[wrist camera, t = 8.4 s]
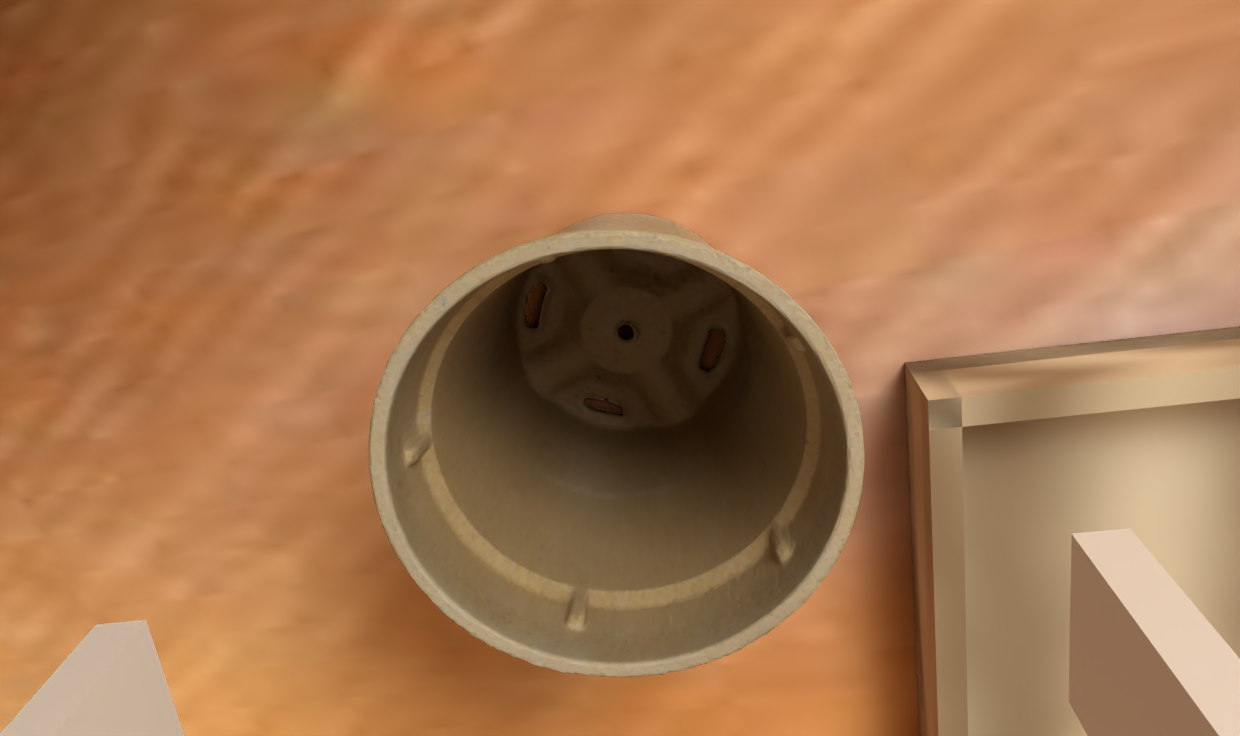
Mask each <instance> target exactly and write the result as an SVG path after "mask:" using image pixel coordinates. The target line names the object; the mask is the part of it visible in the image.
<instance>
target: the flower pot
mask: <svg viewBox="0 0 1240 736" xmlns="http://www.w3.org/2000/svg"><path fill="white" fill-rule="evenodd" d="M539 283H541V284H544V285H545V286H546V288H547V290H546V293H545V297H544V300H543V304H542V309H541V313H540V318H539V325H538V327H537V328H530V327H528V326H527V324H526V317H525V306H526V303H527V296H528V294H529V292H530V290H531V289H532V288H533V287H534V286H535V285H536V284H539ZM625 324H628V325H630V326H631V327H632V330H633V332H634V336H633V337H632V338H631V339H629V340H623V339H622V338H621V337H620V336H619V334H618V329H619V327H620V326H622V325H625ZM710 329H720V330H722V331H724V333H725V337H726V341H725V345H724V347H723V349H722V351H721V353H720V355H719V356H718V357H717V361H716V365H715V366H714V367H713V368H712V369H711V370H710V371H705V370H704V369H701V368H700V366H699V361H700V358H701V356H702V352H703V349H704V347H705V345H706V342H707V337H708V336H709V334H708V331H709V330H710ZM588 397H590V398H592V399H597V400H604V399H605V398H609V399H608V400H607V401H609V402H611V403H612V404H616V405H618V406H621V407H622V409H623V414H622V415H619V414H611V413H605V412H601V411H597V410H594V409H592V408H590V407H589V406H588V405H587V404H586V403H585V399H586V398H588ZM372 411H373V413H372V418H371V423H370V434H369V469H370V476H371V484H372V488H373V495H374V500H375V504H376V507H377V510H378V513H379V517H380V520H381V521H382V525H383V528H384V530H385V532H386V534H387V536H388V539H389V541H390V542H391V545H392V548H393V550H394V551H395V553H396V555H397V557H398V558H399V559H400V561H401V562H402V564H403V566H404V567H405V569H406V570H407V572H408V573H409V575H410V576H411V577H412V578H413V580H414V581H415V583H416V584H417V585H418V586H419V588H420V589H421V590H422V591H423V592H424V593H425V594H426V595H427V596H428V597H429V598H430V599H431V601H432V602H433V603H434V604H435V605H436V606H437V607H438V608H439V609H440V610H441V611H442V612H443V613H444V615H446V616H447V617H449V618H451V619H452V620H453V621H454V622H455V623H457V624H458V625H459V626H461V627H462V628H463V629H464V630H466V631H467V632H469V633H470V634H471V635H473V636H474V637H475V638H478V639H480V640H482V641H483V642H485V643H486V644H488V645H489V646H491V647H494V648H495V649H497V650H499V651H502V652H505V653H507V654H509V655H511V656H512V657H516V658H519V659H522V660H524V661H527V662H528V663H530V664H532V665H535V666H541V667H546V668H549V669H551V670H556V671H559V672H562V673H567V672H568V673H570V674H574V673H579V674H582V675H584V676H588V675H593V676H601V677H641V676H650V675H663V674H665V673H667V672H677V671H681V670H685V669H689V668H692V667H695V666H698V665H703V664H706V663H708V662H710V661H712V660H716V659H719V658H721V657H723V656H727V655H729V654H731V653H733V652H735V651H738V650H740V649H742V648H744V647H745V646H747V645H748V644H750V643H752V642H754V641H755V640H757V639H758V638H760V637H761V636H763V635H765V634H767V633H768V632H770V631H771V630H772V629H773V628H775V627H776V626H778V625H779V624H780V623H781V622H783V621H784V620H785V619H786V618H788V617H789V616H790V615H791V614H792V613H793V612H794V611H795V610H797V609H798V608H799V607H800V606H801V605H802V604H803V603H805V601H806V600H807V599H808V598H809V597H810V596H811V595H812V593H813V592H814V591H815V590H816V589H817V588H818V587H819V585H820V583H821V581H822V580H823V579H824V578H825V577H826V576H827V574H828V572H829V570H830V569H831V568H832V566H833V565H834V564H835V562H836V561H837V559H838V557H839V555H840V553H841V551H842V549H843V546H844V545H845V543H846V540H847V538H848V536H849V534H850V531H851V528H852V526H853V523H854V520H855V516H856V512H857V508H858V506H859V500H860V496H861V492H862V485H863V475H864V462H865V458H864V444H863V431H862V424H861V417H860V411H859V407H858V404H857V400H856V397H855V394H854V392H853V390H852V385H851V382H850V379H849V377H848V375H847V373H846V371H845V369H844V367H843V365H842V363H841V361H840V359H839V358H838V355H837V353H836V352H835V350H834V349H833V347H832V345H831V344H830V342H829V341H828V339H827V338H826V336H825V335H824V333H823V332H822V331H821V329H820V328H819V327H818V325H817V324H816V323H815V322H814V321H813V320H812V318H811V317H810V316H809V315H808V314H807V313H806V312H805V311H804V310H803V309H802V308H801V307H800V306H799V305H798V304H797V303H796V302H795V301H794V300H793V299H792V298H791V297H790V296H789V295H788V294H787V293H786V292H785V291H783V290H782V289H781V288H780V287H778V286H777V285H776V284H774V283H773V282H772V281H771V280H770V279H768V278H767V277H765V276H764V275H762V274H760V273H759V272H757V271H756V270H755V269H753V268H751V267H750V266H748V265H747V264H745V263H743V262H740V261H738V260H736V259H735V258H733V257H731V256H729V255H727V254H725V253H723V252H721V251H718V250H716V249H713V248H712V247H711V246H710V245H709V244H708V243H706V242H705V241H704V240H703V239H702V238H700V237H699V236H698V235H696V234H695V233H693V232H692V231H690V230H688V229H686V228H685V227H683V226H681V225H679V224H677V223H674V222H672V221H669V220H666V219H663V218H660V217H656V216H652V215H646V214H637V213H612V214H604V215H599V216H595V217H592V218H589V219H586V220H583V221H580V222H578V223H575V224H573V225H571V226H568V227H567V228H565V229H563V230H561V231H560V232H558V233H557V234H555V235H552V236H548V237H544V238H540V239H536V240H533V241H530V242H527V243H524V244H520V245H517V246H515V247H512V248H510V249H508V250H505V251H503V252H501V253H499V254H497V255H494V256H492V257H490V258H488V259H487V260H485V261H483V262H482V263H480V264H478V265H477V266H475V267H473V268H472V269H470V270H469V271H468V272H466V273H465V274H463V275H462V276H460V277H459V278H458V279H456V280H455V281H454V282H452V283H451V284H450V285H449V286H448V287H446V288H445V289H444V290H443V291H442V292H441V293H440V294H439V295H437V296H436V297H435V298H434V299H433V300H432V301H431V302H430V303H429V304H428V305H427V306H426V307H425V308H424V309H423V310H422V311H421V312H420V314H419V315H418V316H417V317H416V318H415V319H414V321H413V322H412V324H411V325H410V326H409V328H408V329H407V330H406V332H405V333H404V335H403V336H402V338H401V340H400V341H399V343H398V345H397V346H396V348H395V349H394V351H393V353H392V355H391V357H390V359H389V361H388V363H387V366H386V368H385V370H384V373H383V376H382V379H381V382H380V385H379V389H378V392H377V395H376V398H375V400H374V405H373V407H372Z"/></svg>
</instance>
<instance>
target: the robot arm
mask: <svg viewBox="0 0 1240 736" xmlns="http://www.w3.org/2000/svg"><path fill="white" fill-rule="evenodd" d="M1068 701H1069V703H1070V705H1071V707H1072V709H1073V710H1074V712H1075V714H1076V716H1077V718H1078V719H1079V721H1080V723H1081V725H1082V727H1083V728H1084V730H1085V732H1086V734H1087V736H1240V658H1239V657H1238V656H1237V655H1236V654H1235V652H1234V651H1233V650H1232V649H1231V648H1230V646H1229V645H1228V644H1227V643H1226V642H1225V641H1224V639H1223V638H1222V637H1221V636H1220V635H1219V633H1218V632H1217V631H1216V630H1215V629H1214V627H1213V626H1212V625H1211V624H1210V623H1209V622H1208V620H1207V619H1206V618H1205V617H1204V616H1203V614H1202V613H1201V612H1200V611H1199V610H1198V608H1197V607H1196V606H1195V605H1194V604H1193V603H1192V601H1191V600H1190V599H1189V598H1188V597H1187V595H1186V594H1185V593H1184V592H1183V591H1182V589H1181V588H1180V587H1179V586H1178V585H1177V584H1176V582H1175V581H1174V580H1173V579H1172V578H1171V576H1170V575H1169V574H1168V573H1167V572H1166V570H1165V569H1164V568H1163V567H1162V566H1161V565H1160V563H1159V562H1158V561H1157V560H1156V559H1155V557H1154V556H1153V555H1152V554H1151V553H1150V551H1149V550H1148V549H1147V548H1146V547H1145V546H1144V544H1143V543H1142V542H1141V541H1140V540H1139V538H1138V537H1137V536H1136V535H1135V534H1134V532H1133V531H1132V530H1131V529H1130V528H1127V529H1116V530H1105V531H1094V532H1084V533H1073V534H1072V538H1071V592H1070V646H1069V700H1068ZM0 736H185V735H184V733H183V730H182V727H181V724H180V721H179V718H178V715H177V712H176V709H175V706H174V703H173V700H172V697H171V694H170V691H169V688H168V685H167V682H166V679H165V676H164V673H163V670H162V667H161V664H160V661H159V658H158V655H157V652H156V649H155V646H154V643H153V640H152V637H151V634H150V631H149V628H148V625H147V622H146V620H139V621H128V622H117V623H106V624H96V625H95V626H94V627H93V628H92V629H91V631H90V632H89V633H88V634H87V635H86V636H85V637H84V639H83V640H82V641H81V642H80V643H79V644H78V645H77V647H76V648H75V649H74V650H73V651H72V652H71V653H70V655H69V656H68V657H67V658H66V659H65V660H64V661H63V663H62V664H61V665H60V666H59V667H58V668H57V669H56V671H55V672H54V673H53V674H52V675H51V676H50V677H49V679H48V680H47V681H46V682H45V683H44V684H43V685H42V687H41V688H40V689H39V690H38V691H37V692H36V693H35V695H34V696H33V697H32V698H31V699H30V700H29V701H28V703H27V704H26V705H25V706H24V707H23V708H22V709H21V711H20V712H19V713H18V714H17V715H16V716H15V717H14V719H13V720H12V721H11V722H10V723H9V724H8V725H7V727H6V728H5V729H4V730H3V731H2V732H1V733H0Z"/></svg>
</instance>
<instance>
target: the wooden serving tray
mask: <svg viewBox="0 0 1240 736" xmlns="http://www.w3.org/2000/svg"><path fill="white" fill-rule="evenodd" d="M905 378H906V403H907V429H908V455H909V481H910V506H911V532H912V558H913V584H914V609H915V635H916V661H917V687H918V713H919V736H1087V734H1086V732H1085V730H1084V728H1083V727H1082V725H1081V723H1080V721H1079V719H1078V718H1077V716H1076V714H1075V712H1074V710H1073V709H1072V707H1071V705H1070V703H1069V701H1068V700H1069V646H1070V592H1071V538H1072V534H1073V533H1084V532H1094V531H1105V530H1116V529H1127V528H1130V529H1131V530H1132V531H1133V532H1134V534H1135V535H1136V536H1137V537H1138V538H1139V540H1140V541H1141V542H1142V543H1143V544H1144V546H1145V547H1146V548H1147V549H1148V550H1149V551H1150V553H1151V554H1152V555H1153V556H1154V557H1155V559H1156V560H1157V561H1158V562H1159V563H1160V565H1161V566H1162V567H1163V568H1164V569H1165V570H1166V572H1167V573H1168V574H1169V575H1170V576H1171V578H1172V579H1173V580H1174V581H1175V582H1176V584H1177V585H1178V586H1179V587H1180V588H1181V589H1182V591H1183V592H1184V593H1185V594H1186V595H1187V597H1188V598H1189V599H1190V600H1191V601H1192V603H1193V604H1194V605H1195V606H1196V607H1197V608H1198V610H1199V611H1200V612H1201V613H1202V614H1203V616H1204V617H1205V618H1206V619H1207V620H1208V622H1209V623H1210V624H1211V625H1212V626H1213V627H1214V629H1215V630H1216V631H1217V632H1218V633H1219V635H1220V636H1221V637H1222V638H1223V639H1224V641H1225V642H1226V643H1227V644H1228V645H1229V646H1230V648H1231V649H1232V650H1233V651H1234V652H1235V654H1236V655H1237V656H1238V657H1239V658H1240V327H1232V328H1222V329H1213V330H1204V331H1195V332H1185V333H1176V334H1167V335H1158V336H1148V337H1139V338H1130V339H1121V340H1112V341H1102V342H1093V343H1084V344H1075V345H1065V346H1056V347H1047V348H1038V349H1028V350H1019V351H1010V352H1001V353H991V354H982V355H973V356H964V357H954V358H945V359H936V360H927V361H917V362H908V363H905Z"/></svg>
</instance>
